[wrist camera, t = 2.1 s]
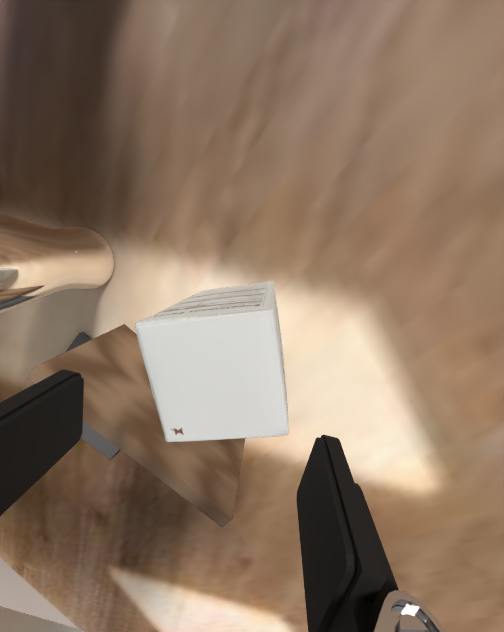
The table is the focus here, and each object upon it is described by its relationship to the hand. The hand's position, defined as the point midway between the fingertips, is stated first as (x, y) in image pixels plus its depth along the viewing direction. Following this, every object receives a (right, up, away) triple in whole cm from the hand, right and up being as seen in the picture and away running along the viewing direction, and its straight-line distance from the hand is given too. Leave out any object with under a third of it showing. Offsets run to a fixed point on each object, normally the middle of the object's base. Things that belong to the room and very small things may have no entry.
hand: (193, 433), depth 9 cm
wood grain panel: (-5, -3, +18) cm, 19 cm away
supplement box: (+1, +4, +15) cm, 16 cm away
